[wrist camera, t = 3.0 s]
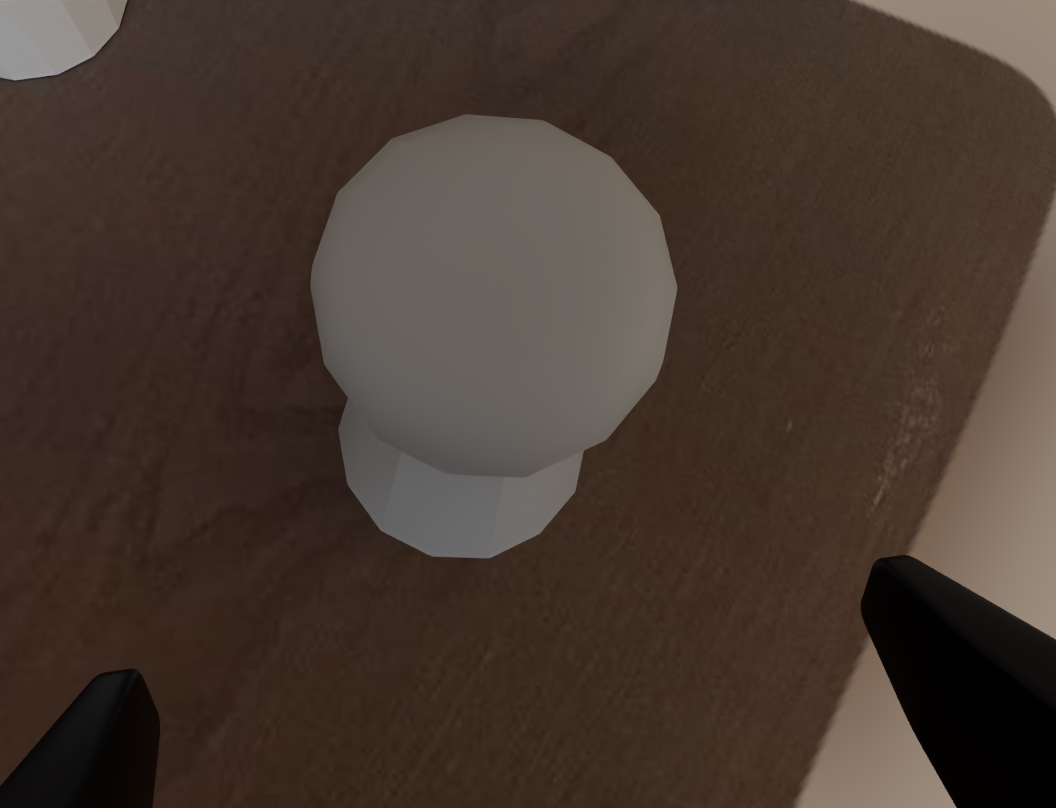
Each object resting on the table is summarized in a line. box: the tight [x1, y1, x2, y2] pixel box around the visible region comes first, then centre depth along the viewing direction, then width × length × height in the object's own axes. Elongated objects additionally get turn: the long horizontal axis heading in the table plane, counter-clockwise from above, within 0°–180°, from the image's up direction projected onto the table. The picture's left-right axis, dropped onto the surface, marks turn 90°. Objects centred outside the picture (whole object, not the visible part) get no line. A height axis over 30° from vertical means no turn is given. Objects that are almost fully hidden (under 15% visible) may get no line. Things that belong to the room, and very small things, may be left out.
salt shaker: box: [310, 114, 677, 558], centre depth 15 cm, size 6×6×13 cm
